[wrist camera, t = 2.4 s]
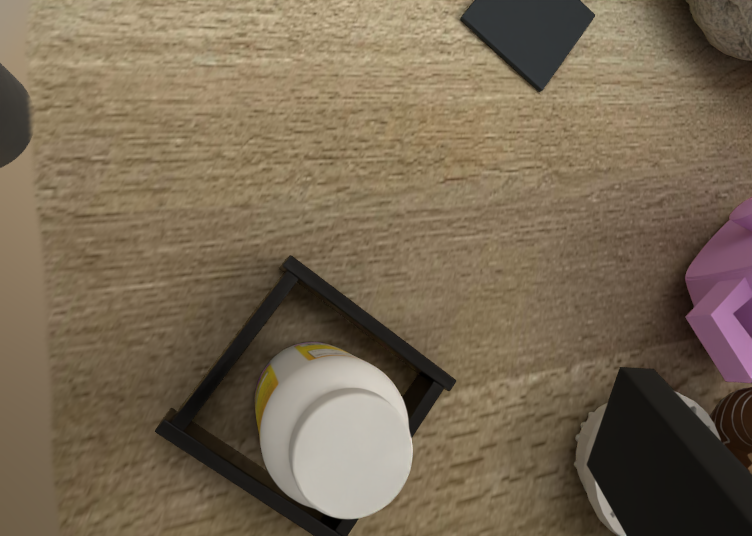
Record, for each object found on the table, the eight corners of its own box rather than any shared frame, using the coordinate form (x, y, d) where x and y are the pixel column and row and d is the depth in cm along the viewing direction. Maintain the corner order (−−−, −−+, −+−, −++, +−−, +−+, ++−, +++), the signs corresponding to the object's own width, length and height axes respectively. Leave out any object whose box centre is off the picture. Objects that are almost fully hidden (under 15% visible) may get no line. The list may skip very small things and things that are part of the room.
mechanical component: (570, 502, 31) (648, 361, 33) (530, 476, 35) (600, 353, 37) (684, 582, 33) (751, 444, 34) (633, 548, 37) (695, 427, 39)
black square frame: (162, 418, 30) (154, 431, 27) (286, 258, 32) (290, 254, 29) (333, 531, 32) (343, 555, 29) (439, 373, 34) (457, 380, 31)
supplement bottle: (289, 472, 31) (320, 587, 19) (233, 378, 31) (226, 433, 18) (381, 409, 33) (466, 478, 20) (329, 320, 32) (384, 334, 20)
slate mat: (459, 19, 36) (461, 16, 35) (517, -55, 37) (520, -59, 37) (539, 92, 37) (542, 90, 37) (592, 17, 38) (595, 15, 38)
